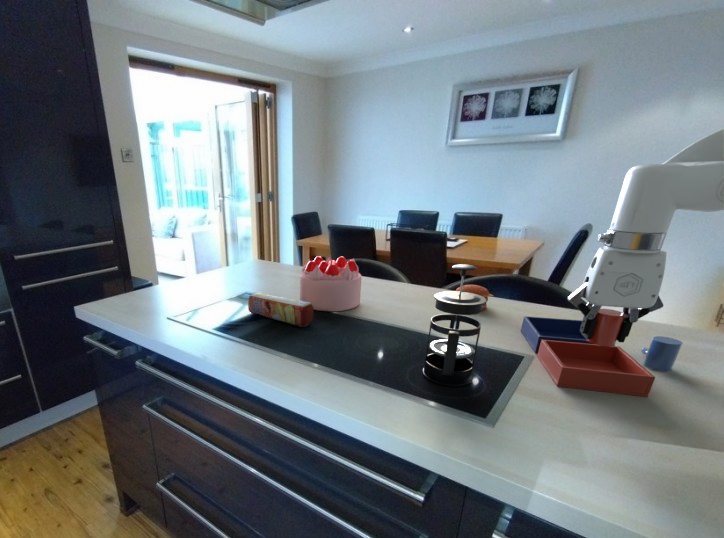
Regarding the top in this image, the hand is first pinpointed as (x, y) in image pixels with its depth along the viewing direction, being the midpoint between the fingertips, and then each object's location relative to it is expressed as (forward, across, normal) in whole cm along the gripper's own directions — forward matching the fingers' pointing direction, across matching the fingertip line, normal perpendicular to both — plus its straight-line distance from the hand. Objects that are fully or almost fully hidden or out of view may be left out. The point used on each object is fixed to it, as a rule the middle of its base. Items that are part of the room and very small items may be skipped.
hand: (601, 337), depth 74 cm
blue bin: (+9, 0, +18) cm, 20 cm away
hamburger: (+9, -17, +44) cm, 47 cm away
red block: (+1, 0, +2) cm, 2 cm away
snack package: (+9, -71, +17) cm, 74 cm away
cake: (+9, -60, +36) cm, 71 cm away
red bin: (+9, 0, +2) cm, 9 cm away
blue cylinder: (+9, +15, +12) cm, 21 cm away
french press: (+9, -27, -8) cm, 29 cm away
